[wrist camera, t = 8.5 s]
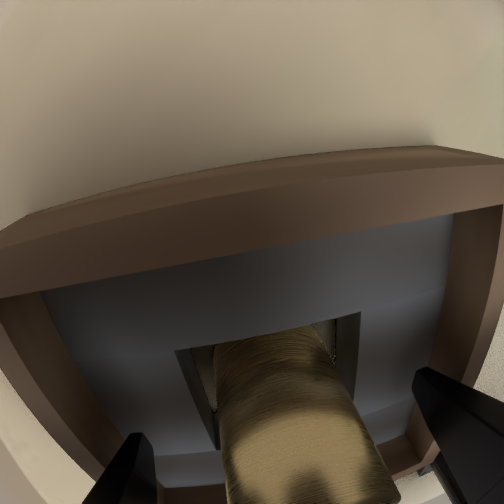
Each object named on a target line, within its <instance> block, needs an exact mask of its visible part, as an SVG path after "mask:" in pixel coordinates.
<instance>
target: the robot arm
mask: <svg viewBox="0 0 504 504" xmlns="http://www.w3.org/2000/svg"><path fill="white" fill-rule="evenodd" d="M411 389H412V393H413V395H414V397H415V400H416V402H417V404H418V407H419V409H420V411H421V414H422V416H423V418H424V421H425V423H426V425H427V427H428V429H429V431H430V433H431V434H432V436H433V438H434V440H435V441H436V443H437V445H438V447H439V449H440V451H439V453H438V455H437V456H436V458H435V459H434V461H433V462H432V463H430V464H428V465H427V466H425V467H423V468H421V469H420V470H419V471H418V475H419V477H420V476H423V475H425V474H427V473H429V472H430V471H432V470H433V471H434V473H435V475H436V476H437V478H438V480H439V482H440V483H441V485H442V487H443V488H444V490H445V492H446V493H447V495H448V497H449V499H450V501H451V502H452V504H504V402H501V401H499V400H497V399H495V398H493V397H491V396H488V395H486V394H484V393H482V392H480V391H478V390H476V389H473V388H471V387H469V386H467V385H465V384H463V383H461V382H459V381H457V380H454V379H452V378H450V377H448V376H446V375H444V374H442V373H440V372H438V371H436V370H434V369H432V368H429V367H423V368H420V369H418V370H416V372H415V375H414V378H413V382H412V386H411ZM82 504H157V481H156V471H155V460H154V450H153V447H152V445H151V443H150V442H149V440H148V439H147V437H146V436H145V434H144V433H142V432H133V433H130V434H129V435H128V437H127V438H126V440H125V441H124V443H123V444H122V445H121V447H120V448H119V450H118V451H117V453H116V454H115V456H114V457H113V459H112V460H111V462H110V463H109V464H108V466H107V467H106V469H105V470H104V472H103V473H102V475H101V476H100V478H99V479H98V480H97V482H96V483H95V485H94V486H93V488H92V489H91V491H90V492H89V494H88V495H87V497H86V498H85V499H84V501H83V502H82Z"/></svg>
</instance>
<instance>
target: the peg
mask: <svg viewBox="0 0 504 504" xmlns="http://www.w3.org/2000/svg"><path fill="white" fill-rule="evenodd" d="M213 360H214V374H215V387H216V399H217V410H218V421H219V432H220V442H221V452H222V461H223V470H224V478H225V487H226V495H227V503H228V504H398V503H399V502H400V500H401V495H400V493H399V491H398V489H397V487H396V485H395V483H394V481H393V479H392V477H391V475H390V473H389V471H388V469H387V467H386V465H385V463H384V461H383V459H382V457H381V455H380V453H379V451H378V449H377V447H376V445H375V443H374V441H373V440H372V438H371V436H370V434H369V432H368V430H367V428H366V426H365V424H364V422H363V420H362V418H361V416H360V414H359V412H358V410H357V408H356V407H355V405H354V403H353V401H352V399H351V397H350V395H349V393H348V391H347V389H346V387H345V385H344V384H343V382H342V380H341V378H340V376H339V374H338V372H337V370H336V368H335V366H334V365H333V363H332V361H331V359H330V357H329V355H328V353H327V351H326V350H325V348H324V346H323V344H322V342H321V340H320V338H319V336H318V335H317V333H316V331H315V329H314V328H313V326H312V325H311V324H310V325H305V326H301V327H297V328H292V329H288V330H283V331H279V332H274V333H269V334H265V335H260V336H255V337H250V338H245V339H240V340H234V341H229V342H223V343H218V344H216V346H215V349H214V355H213Z"/></svg>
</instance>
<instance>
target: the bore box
mask: <svg viewBox="0 0 504 504" xmlns="http://www.w3.org/2000/svg"><path fill="white" fill-rule="evenodd" d="M503 303H504V159H503V158H498V157H494V156H489V155H485V154H480V153H475V152H470V151H465V150H460V149H454V148H448V147H442V146H406V147H387V148H372V149H358V150H346V151H336V152H326V153H316V154H308V155H299V156H291V157H284V158H276V159H269V160H262V161H255V162H249V163H243V164H237V165H231V166H225V167H219V168H213V169H208V170H203V171H197V172H192V173H187V174H182V175H177V176H173V177H168V178H163V179H159V180H154V181H150V182H145V183H141V184H137V185H133V186H128V187H124V188H120V189H116V190H112V191H108V192H105V193H101V194H97V195H93V196H90V197H86V198H82V199H79V200H75V201H72V202H68V203H65V204H62V205H58V206H55V207H52V208H49V209H45V210H42V211H39V212H36V213H33V214H30V215H27V216H25V217H23V218H21V219H19V220H18V221H16V222H14V223H13V224H11V225H9V226H8V227H6V228H5V229H3V230H1V231H0V368H1V370H2V371H3V373H4V374H5V376H6V377H7V379H8V380H9V382H10V383H11V385H12V386H13V388H14V389H15V390H16V392H17V393H18V395H19V396H20V397H21V399H22V400H23V402H24V403H25V404H26V406H27V407H28V408H29V409H30V411H31V412H32V413H33V415H34V416H35V417H36V418H37V420H38V421H39V422H40V423H41V425H42V426H43V427H44V428H45V429H46V431H47V432H48V433H49V434H50V435H51V436H52V438H53V439H54V440H55V441H56V442H57V443H58V444H59V445H60V446H61V448H62V449H63V450H64V451H65V452H66V453H67V454H68V455H69V456H70V457H71V458H72V459H73V460H74V461H75V462H76V463H77V464H78V465H79V466H80V467H81V468H82V469H83V470H84V471H85V472H86V473H87V474H88V475H89V476H90V477H91V478H92V479H93V480H95V481H96V482H97V480H98V479H99V478H100V476H101V475H102V473H103V472H104V470H105V469H106V467H107V466H108V464H109V463H110V462H111V460H112V459H113V457H114V456H115V454H116V453H117V451H118V450H119V448H120V447H121V445H122V444H123V443H124V441H125V440H126V438H127V437H128V435H129V434H130V433H133V432H142V433H144V434H145V436H146V437H147V439H148V440H149V442H150V443H151V445H152V447H153V450H154V460H155V471H156V481H157V504H228V503H227V495H226V487H225V478H224V470H223V461H222V452H221V442H220V432H219V421H218V413H214V414H213V412H212V410H211V407H210V405H209V402H208V399H207V397H206V394H205V391H204V389H203V386H202V383H201V380H200V378H199V375H198V372H197V369H196V366H195V364H194V361H193V358H192V355H191V352H190V349H189V348H194V347H200V346H206V345H212V344H218V343H223V342H229V341H234V340H240V339H245V338H250V337H255V336H260V335H265V334H269V333H274V332H279V331H283V330H288V329H292V328H297V327H301V326H305V325H310V324H314V323H318V322H322V321H326V320H330V319H334V318H337V328H336V370H337V372H338V374H339V376H340V378H341V380H342V382H343V384H344V385H345V387H346V389H347V391H348V393H349V395H350V397H351V399H352V401H353V403H354V405H355V407H356V408H357V410H358V412H359V414H360V416H361V418H362V420H363V422H364V424H365V426H366V428H367V430H368V432H369V434H370V436H371V438H372V440H373V441H374V443H375V445H376V447H377V449H378V451H379V453H380V455H381V457H382V459H383V461H384V463H385V465H386V467H387V469H388V471H389V473H390V475H391V477H392V479H393V481H395V480H397V479H399V478H402V477H404V476H406V475H408V474H410V473H412V472H414V471H417V470H419V469H421V468H423V467H425V466H427V465H428V464H430V463H432V462H433V461H434V459H435V458H436V456H437V455H438V453H439V451H440V449H439V447H438V445H437V443H436V441H435V440H434V438H433V436H432V434H431V433H430V431H429V429H428V427H427V425H426V423H425V421H424V418H423V416H422V414H421V411H420V409H419V407H418V404H417V402H416V400H415V397H414V395H413V393H412V389H411V386H412V382H413V378H414V375H415V372H416V370H418V369H420V368H423V367H429V368H432V369H434V370H436V371H438V372H440V373H442V374H444V375H446V376H448V377H450V378H452V379H454V380H457V381H459V382H461V383H463V384H465V385H467V386H469V387H471V388H473V387H474V384H475V382H476V380H477V378H478V375H479V373H480V370H481V368H482V365H483V363H484V360H485V358H486V355H487V353H488V350H489V347H490V344H491V341H492V339H493V336H494V333H495V330H496V327H497V323H498V320H499V317H500V313H501V310H502V307H503Z"/></svg>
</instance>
